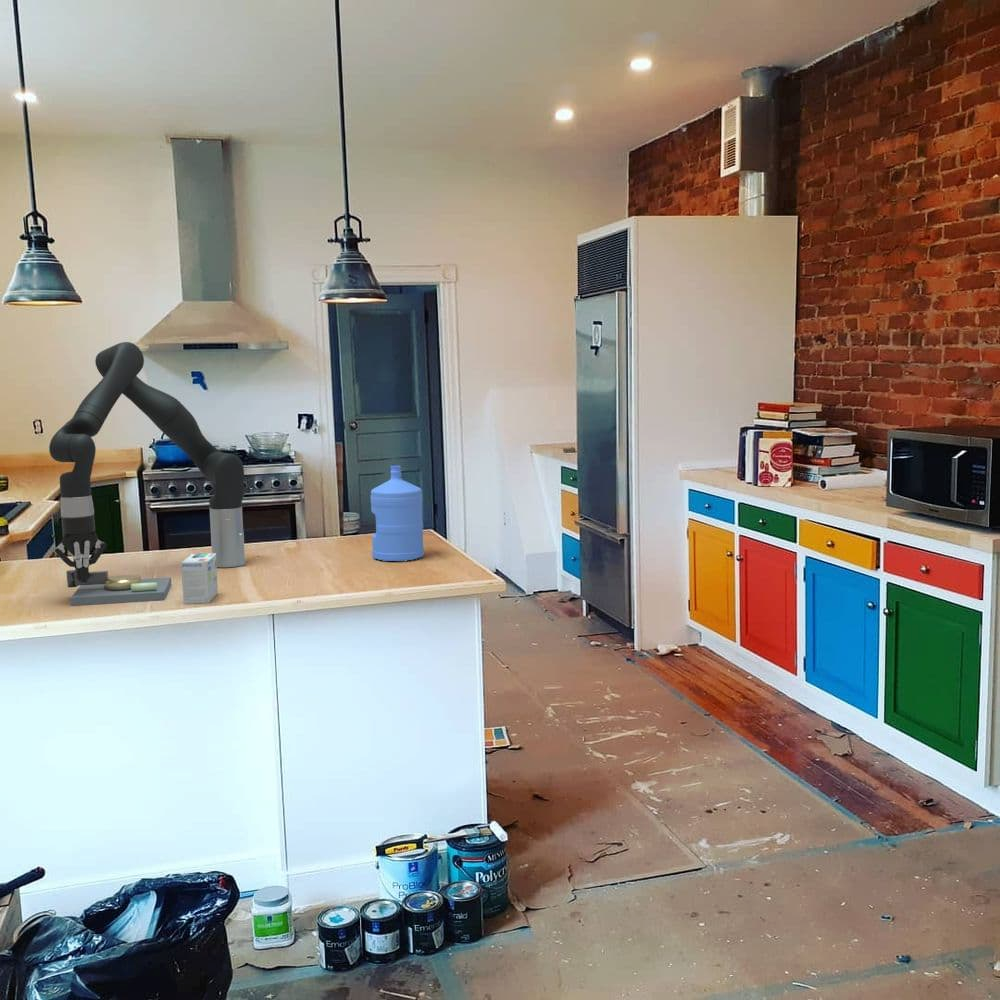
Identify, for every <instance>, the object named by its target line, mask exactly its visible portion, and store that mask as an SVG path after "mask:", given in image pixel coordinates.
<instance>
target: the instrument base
mask: <svg viewBox="0 0 1000 1000" xmlns="http://www.w3.org/2000/svg"><path fill="white" fill-rule="evenodd" d="M170 586H172V577H168V576H167V577H156V578H155V577H154V578H153V577H152V578H141V583H136V584H131V589H125V590H107V589H104V584H96V585H79V586H78V588H77V590H75V592H73V594H72V595H71V596H70V598H69V601H70V606H71V607H73V606H74V607H75V606H89V605H90V606H91V604H92V605H105V604H106V603H108V604H120V603H121V602H124V603H135V602H136V603H137V602H138V603H139V601H140V602H153V601H165V600H164V599H166V598H167V595H168V593H169V591H170V589H171V587H170Z"/></svg>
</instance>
